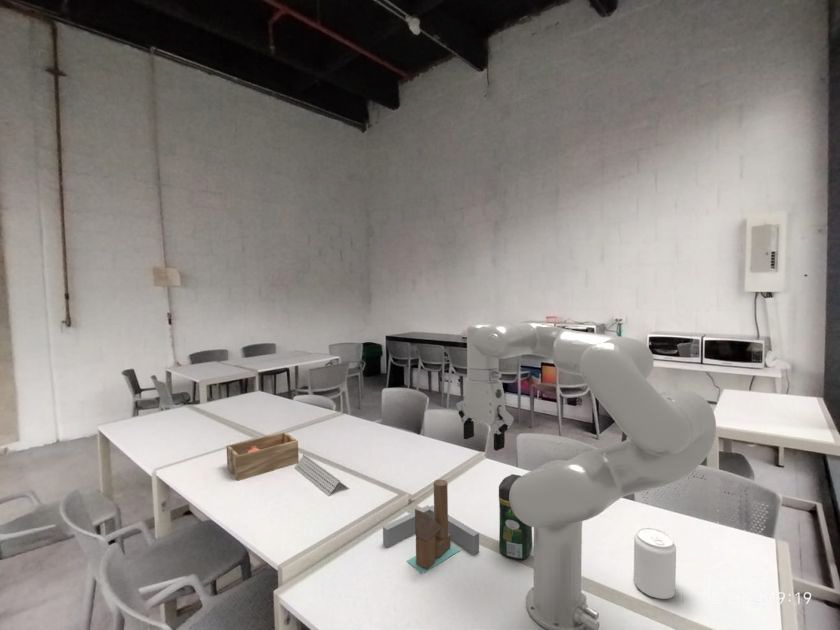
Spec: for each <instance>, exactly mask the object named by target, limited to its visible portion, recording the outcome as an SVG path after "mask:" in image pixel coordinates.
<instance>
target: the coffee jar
mask: <svg viewBox="0 0 840 630" xmlns="http://www.w3.org/2000/svg"><path fill="white" fill-rule="evenodd" d="M521 476H522V475H518V474H513V473H511V474H510V475H507V476H506V477H504V478H503V479H502V481H501V482H500V484H499V485H498V502H499V506H498V507H499V533H498V534H499V535H498V536H499V537H498V538H499V540H498V543H499V544H498V547H499V551H500V553H501V554H503V555H505V556H506V557H507V558H510V559H514V560H525V559H526V558H527V557H528V556H529V554H530V553H531V550H532V547H533V527H531V526H528V525H526V524H524V523H523V522H522V521H520V520H519V519H518V518H517V517H516V515H515V514H514V513H513V511H512V509H511V506H510V502H509V493H510V489H511V487H512V485H513V483H514V482H515V481H516V480H517V479H518V478H519V477H521Z"/></svg>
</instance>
